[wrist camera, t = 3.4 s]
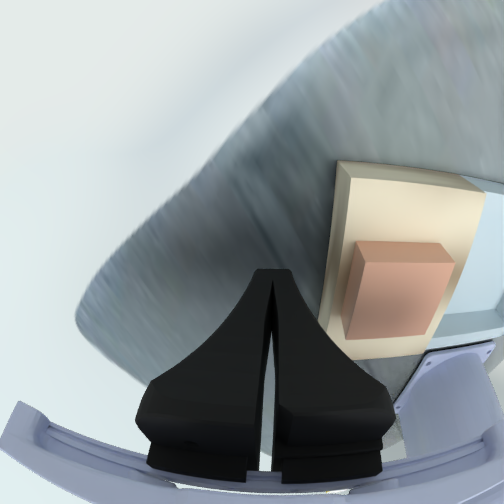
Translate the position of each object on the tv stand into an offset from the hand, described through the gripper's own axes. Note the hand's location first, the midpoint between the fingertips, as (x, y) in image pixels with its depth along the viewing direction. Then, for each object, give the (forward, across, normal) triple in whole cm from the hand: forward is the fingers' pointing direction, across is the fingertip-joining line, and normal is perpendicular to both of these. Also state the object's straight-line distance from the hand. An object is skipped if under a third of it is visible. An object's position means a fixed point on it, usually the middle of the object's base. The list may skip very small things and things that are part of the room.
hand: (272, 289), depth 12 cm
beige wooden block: (+3, -6, 0) cm, 7 cm away
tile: (0, -5, 0) cm, 5 cm away
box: (+3, -13, 0) cm, 14 cm away
